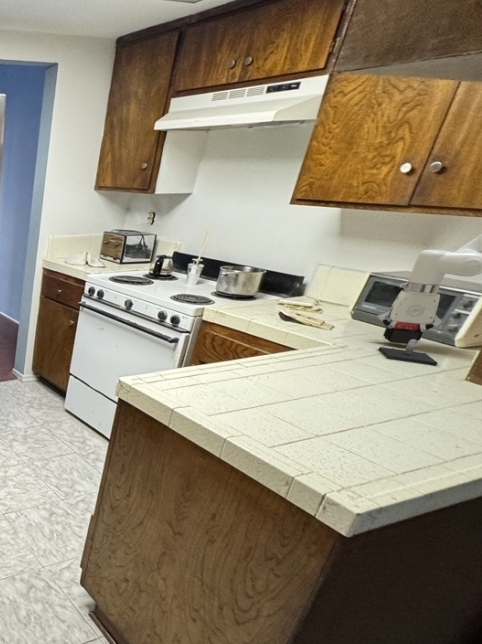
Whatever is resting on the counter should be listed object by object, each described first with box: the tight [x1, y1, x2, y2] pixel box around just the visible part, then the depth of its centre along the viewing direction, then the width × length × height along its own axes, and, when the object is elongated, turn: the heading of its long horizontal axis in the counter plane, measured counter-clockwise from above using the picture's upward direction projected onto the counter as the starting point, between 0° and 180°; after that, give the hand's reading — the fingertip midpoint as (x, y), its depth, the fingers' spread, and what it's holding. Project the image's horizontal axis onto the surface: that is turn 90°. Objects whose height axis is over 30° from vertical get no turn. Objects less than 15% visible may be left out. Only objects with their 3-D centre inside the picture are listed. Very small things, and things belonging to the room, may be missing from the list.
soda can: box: [393, 322, 418, 331], centre depth 167 cm, size 7×7×12 cm
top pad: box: [387, 328, 419, 345], centre depth 161 cm, size 6×6×4 cm
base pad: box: [378, 339, 438, 366], centre depth 149 cm, size 11×11×6 cm
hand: (400, 339), depth 161 cm, fingers closed on top pad, 6 cm apart
